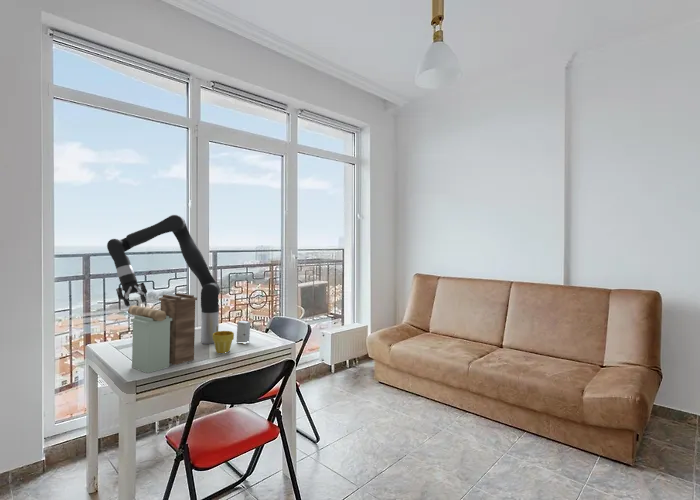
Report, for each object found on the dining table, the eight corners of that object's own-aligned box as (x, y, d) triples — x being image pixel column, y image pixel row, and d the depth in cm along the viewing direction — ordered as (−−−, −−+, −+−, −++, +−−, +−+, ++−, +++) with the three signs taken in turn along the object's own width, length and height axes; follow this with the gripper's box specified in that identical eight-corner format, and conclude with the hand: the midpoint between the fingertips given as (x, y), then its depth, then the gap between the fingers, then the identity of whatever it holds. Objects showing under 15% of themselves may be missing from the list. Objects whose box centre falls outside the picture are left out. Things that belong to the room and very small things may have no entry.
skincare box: (236, 343, 214) (236, 321, 214) (241, 341, 219) (241, 320, 218) (245, 344, 212) (245, 323, 212) (250, 342, 216) (250, 321, 216)
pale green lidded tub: (129, 368, 169) (130, 316, 169) (155, 361, 179) (156, 312, 179) (145, 373, 163) (146, 319, 162) (171, 366, 173) (172, 315, 173)
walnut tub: (157, 360, 180) (158, 295, 180) (180, 354, 191) (181, 292, 190) (173, 365, 174) (174, 297, 173) (195, 359, 184) (197, 294, 184)
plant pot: (227, 355, 192) (227, 336, 191) (208, 353, 194) (208, 334, 193) (236, 349, 202) (237, 331, 202) (218, 348, 204) (219, 330, 203)
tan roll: (129, 316, 176) (127, 307, 175) (138, 312, 180) (136, 303, 179) (157, 322, 165) (155, 313, 164) (166, 319, 168) (165, 309, 168)
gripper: (116, 275, 194) (126, 305, 193) (143, 270, 206) (152, 298, 205) (109, 279, 197) (119, 309, 196) (135, 274, 210) (145, 302, 209)
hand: (136, 304), depth 201 cm, fingers open, 8 cm apart
